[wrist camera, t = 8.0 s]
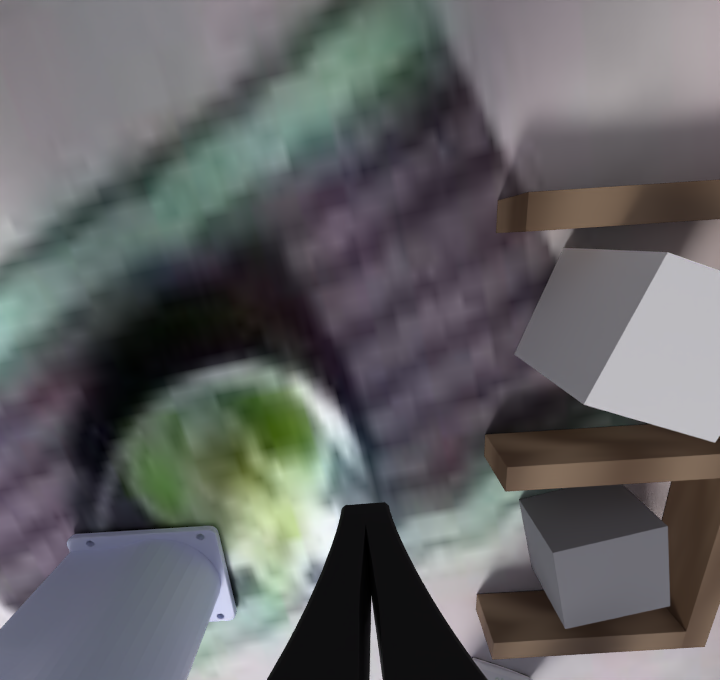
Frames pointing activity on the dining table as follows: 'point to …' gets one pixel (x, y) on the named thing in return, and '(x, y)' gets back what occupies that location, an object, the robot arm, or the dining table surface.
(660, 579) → the charcoal block
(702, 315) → the plain light grey cube
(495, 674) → the syrup box
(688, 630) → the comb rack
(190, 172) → the dining table surface
